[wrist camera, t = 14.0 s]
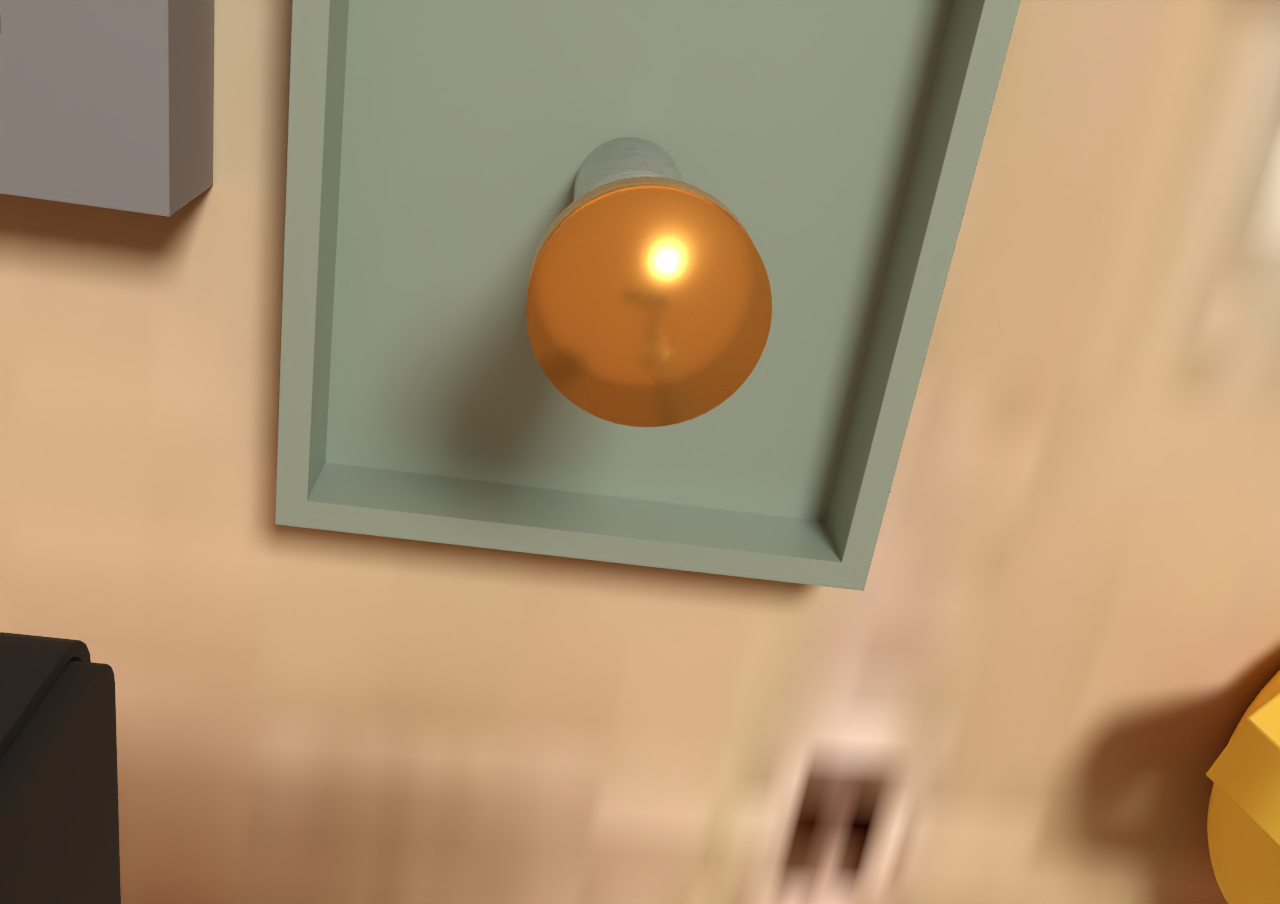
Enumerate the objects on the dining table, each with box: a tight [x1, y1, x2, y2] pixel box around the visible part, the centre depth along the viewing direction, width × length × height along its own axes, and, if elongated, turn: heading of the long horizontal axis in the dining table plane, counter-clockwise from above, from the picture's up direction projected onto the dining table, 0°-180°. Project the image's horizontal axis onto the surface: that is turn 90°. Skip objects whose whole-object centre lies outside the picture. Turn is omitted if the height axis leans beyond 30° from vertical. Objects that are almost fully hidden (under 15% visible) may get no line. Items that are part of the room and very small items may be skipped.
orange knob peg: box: [526, 137, 772, 427], centre depth 26 cm, size 4×4×10 cm
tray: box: [275, 0, 1021, 591], centre depth 30 cm, size 16×19×3 cm
